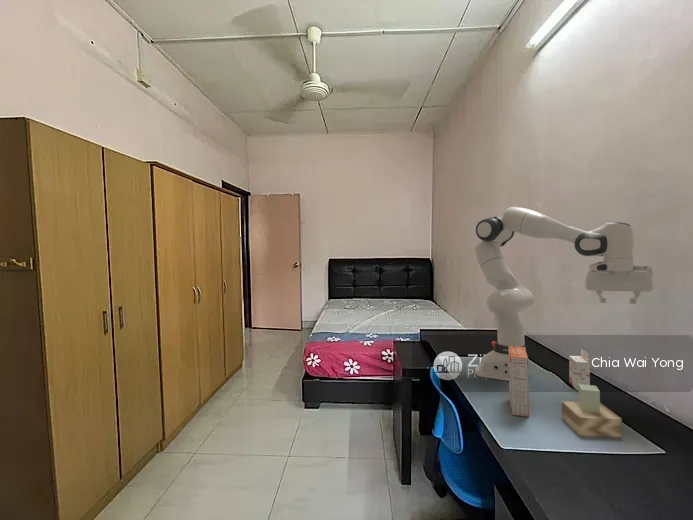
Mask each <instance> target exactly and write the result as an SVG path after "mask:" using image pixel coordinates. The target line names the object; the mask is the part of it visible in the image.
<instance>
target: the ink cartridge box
mask: <svg viewBox="0 0 693 520" xmlns="http://www.w3.org/2000/svg"><path fill="white" fill-rule="evenodd" d="M568 359H569V360H568V362H569V364H568V365H569V369H568V370H569V373H568V374H569V375H568V378H569V379H568V380H569V384H570V385H571V386H572V387H573V388H574V390H576V391H578V384H584V385H591V384H590V383H591V382H590V381H591V375H590V373H591V366H590V365H591V364H590V355H589V354H588V353H587V352H586V351H585V350H583V349H580V355H569V358H568Z"/></svg>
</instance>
